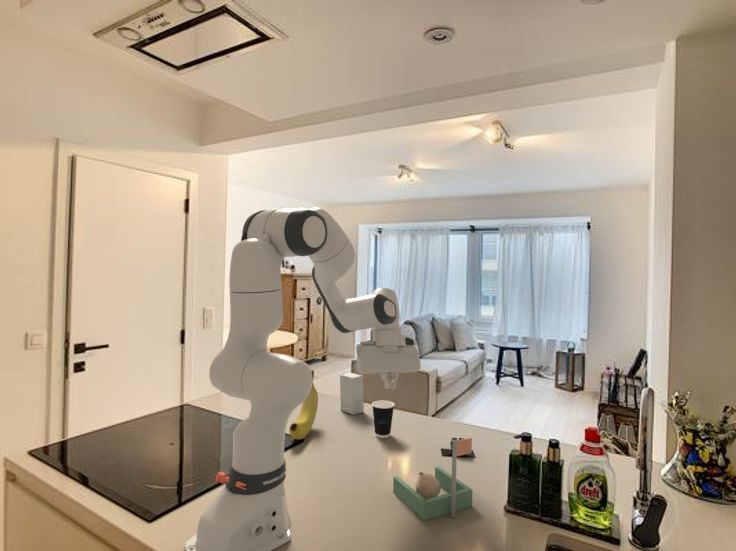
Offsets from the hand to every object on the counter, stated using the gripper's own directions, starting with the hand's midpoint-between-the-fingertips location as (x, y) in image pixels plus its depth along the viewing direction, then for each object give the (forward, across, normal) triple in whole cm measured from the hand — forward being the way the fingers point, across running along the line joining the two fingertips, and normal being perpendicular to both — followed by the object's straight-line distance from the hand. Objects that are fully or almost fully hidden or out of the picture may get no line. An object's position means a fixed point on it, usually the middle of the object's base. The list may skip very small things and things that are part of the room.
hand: (390, 388), depth 126 cm
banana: (+13, -15, +38) cm, 43 cm away
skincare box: (+6, +9, +52) cm, 53 cm away
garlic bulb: (+28, +2, -12) cm, 31 cm away
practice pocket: (+28, +3, -14) cm, 31 cm away
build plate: (+21, +26, +6) cm, 34 cm away
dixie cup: (+15, +10, +27) cm, 32 cm away
